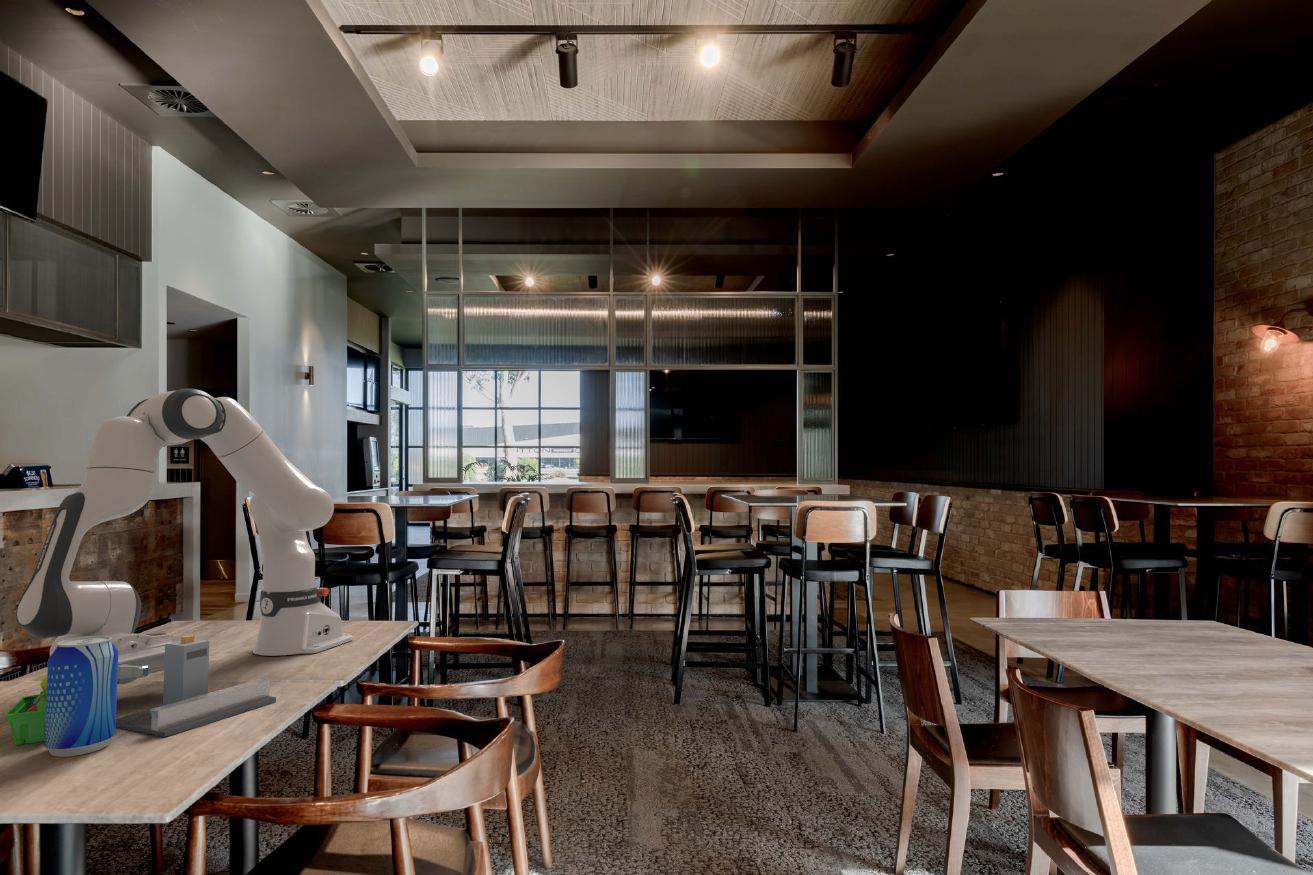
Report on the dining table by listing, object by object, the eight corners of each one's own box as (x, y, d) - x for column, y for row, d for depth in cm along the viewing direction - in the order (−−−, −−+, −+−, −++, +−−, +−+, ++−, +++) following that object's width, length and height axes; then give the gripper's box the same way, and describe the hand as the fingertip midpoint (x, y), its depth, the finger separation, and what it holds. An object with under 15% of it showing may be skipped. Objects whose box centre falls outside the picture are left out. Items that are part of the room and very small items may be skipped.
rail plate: (223, 692, 139) (223, 672, 139) (276, 701, 133) (276, 680, 133) (108, 725, 120) (109, 701, 121) (164, 737, 115) (165, 712, 115)
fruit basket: (21, 727, 120) (25, 657, 120) (89, 718, 124) (92, 650, 125) (1, 750, 110) (5, 673, 110) (76, 739, 114) (79, 665, 115)
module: (188, 700, 131) (190, 632, 132) (207, 704, 129) (209, 634, 130) (162, 707, 127) (165, 637, 128) (182, 711, 125) (184, 640, 126)
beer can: (128, 741, 113) (132, 636, 114) (69, 761, 105) (73, 648, 106) (90, 735, 116) (94, 632, 117) (29, 754, 108) (34, 644, 109)
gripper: (58, 653, 126) (109, 660, 121) (176, 630, 145) (225, 636, 140) (56, 690, 126) (107, 700, 120) (175, 663, 145) (223, 670, 139)
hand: (171, 665), depth 130 cm, fingers open, 8 cm apart
